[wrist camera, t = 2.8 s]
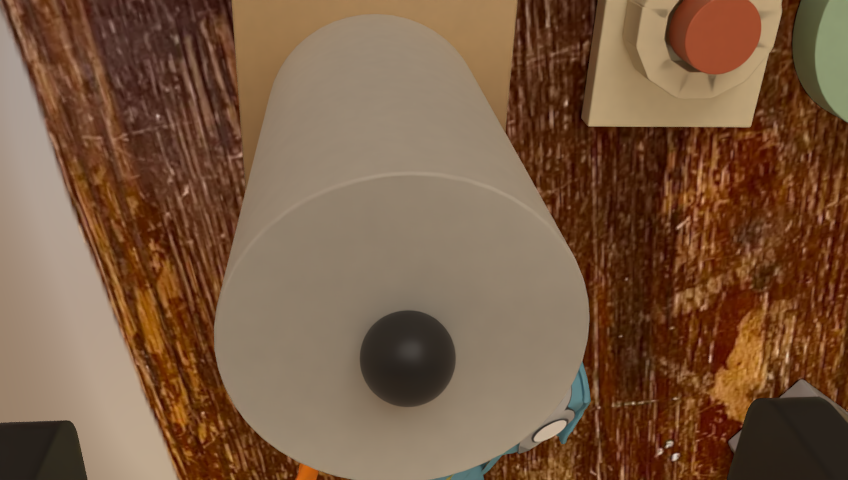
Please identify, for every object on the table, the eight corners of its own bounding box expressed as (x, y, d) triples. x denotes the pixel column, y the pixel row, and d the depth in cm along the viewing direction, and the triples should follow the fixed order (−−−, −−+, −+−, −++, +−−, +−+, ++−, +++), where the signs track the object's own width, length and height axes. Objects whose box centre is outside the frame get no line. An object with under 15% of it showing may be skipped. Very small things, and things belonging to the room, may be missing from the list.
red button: (676, -14, 32) (693, -6, 30) (750, -12, 32) (771, -4, 31) (662, 63, 33) (677, 74, 32) (732, 64, 34) (751, 75, 32)
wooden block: (274, -84, 31) (229, -20, 18) (444, -78, 32) (519, -13, 19) (282, 84, 35) (248, 241, 22) (436, 86, 35) (496, 238, 22)
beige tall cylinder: (261, 11, 19) (181, 205, 9) (489, 15, 19) (642, 203, 10) (273, 218, 21) (220, 541, 12) (473, 217, 22) (581, 523, 12)
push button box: (612, -111, 32) (637, -106, 30) (793, -104, 33) (832, -98, 30) (580, 118, 37) (599, 140, 34) (739, 119, 38) (769, 141, 35)
